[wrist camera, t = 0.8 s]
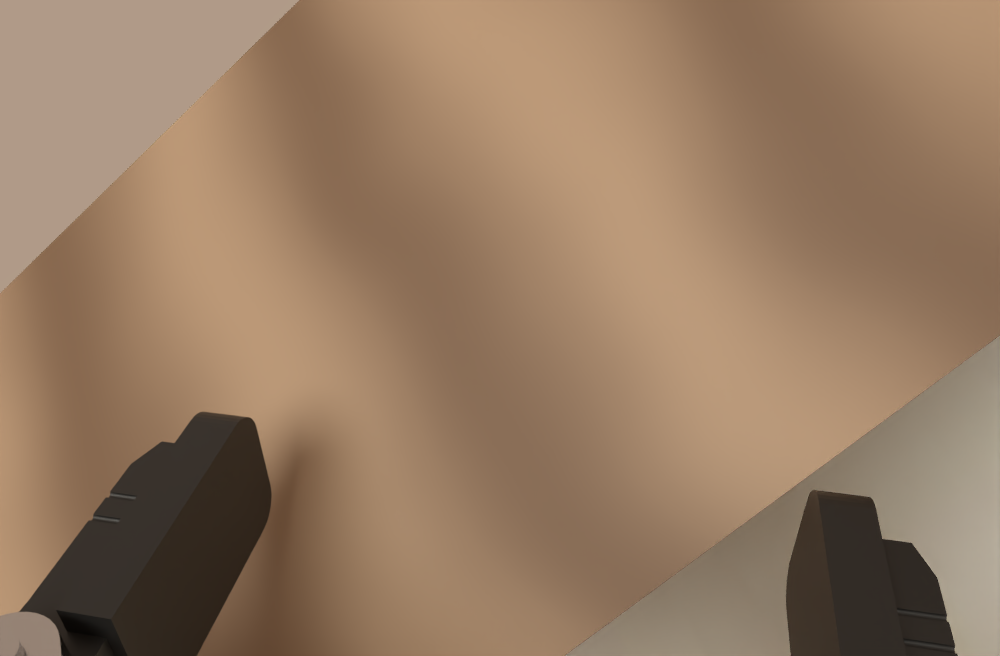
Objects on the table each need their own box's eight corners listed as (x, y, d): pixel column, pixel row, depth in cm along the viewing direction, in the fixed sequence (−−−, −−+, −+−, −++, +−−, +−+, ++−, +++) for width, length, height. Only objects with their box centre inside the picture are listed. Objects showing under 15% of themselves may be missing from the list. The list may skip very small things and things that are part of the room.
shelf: (812, 84, 36) (820, -511, 14) (1028, 299, 33) (1515, -44, 10) (379, 445, 41) (-144, 434, 18) (525, 671, 37) (90, 1004, 15)
